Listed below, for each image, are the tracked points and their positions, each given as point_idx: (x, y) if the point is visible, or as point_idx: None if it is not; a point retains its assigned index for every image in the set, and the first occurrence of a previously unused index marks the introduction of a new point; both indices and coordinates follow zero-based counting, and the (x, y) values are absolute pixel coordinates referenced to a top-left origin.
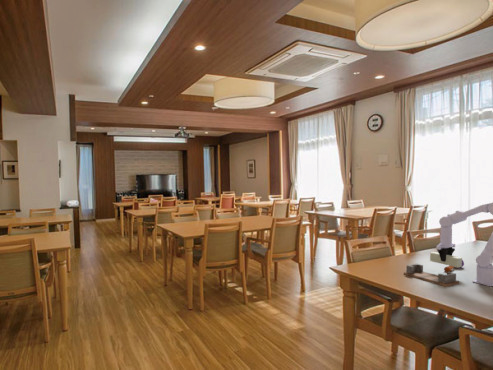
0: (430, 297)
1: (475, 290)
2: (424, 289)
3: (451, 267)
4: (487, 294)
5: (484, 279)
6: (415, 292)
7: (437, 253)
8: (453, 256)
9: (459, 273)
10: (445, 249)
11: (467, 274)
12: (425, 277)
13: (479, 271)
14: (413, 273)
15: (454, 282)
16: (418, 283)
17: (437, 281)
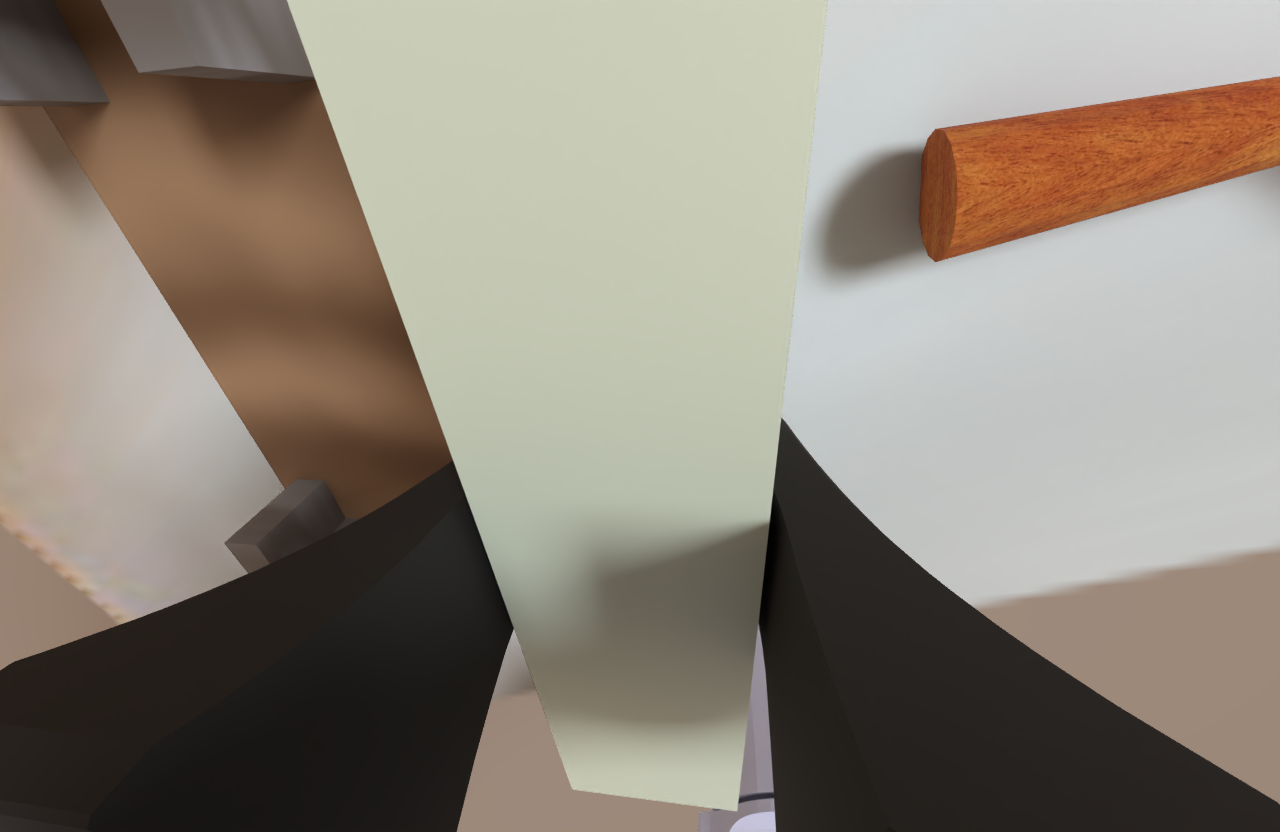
0: (101, 576)
1: (509, 645)
2: (110, 489)
3: (1109, 212)
4: (516, 691)
5: None
6: (12, 494)
7: (537, 276)
8: (676, 724)
9: (998, 346)
10: (837, 778)
11: (1031, 427)
12: (219, 332)
13: None
14: (81, 104)
15: None
16: (104, 373)
17: (291, 476)
